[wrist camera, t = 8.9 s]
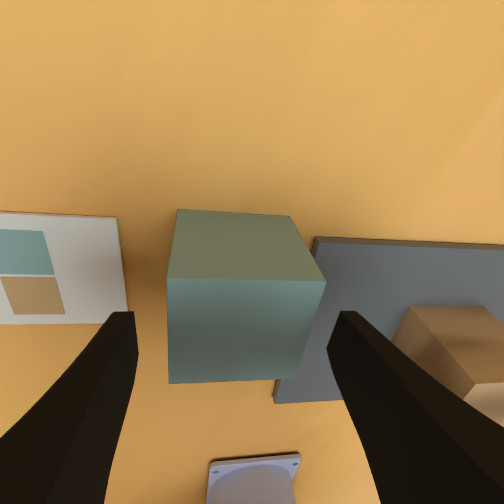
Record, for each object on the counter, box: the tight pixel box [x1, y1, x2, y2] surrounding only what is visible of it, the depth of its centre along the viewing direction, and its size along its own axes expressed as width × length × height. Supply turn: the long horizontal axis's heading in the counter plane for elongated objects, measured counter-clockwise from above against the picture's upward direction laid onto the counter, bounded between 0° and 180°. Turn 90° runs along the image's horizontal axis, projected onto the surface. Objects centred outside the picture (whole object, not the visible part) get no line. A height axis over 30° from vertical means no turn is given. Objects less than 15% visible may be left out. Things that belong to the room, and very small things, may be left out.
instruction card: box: [0, 211, 128, 324], centre depth 13 cm, size 6×8×1 cm
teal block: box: [166, 209, 327, 384], centre depth 13 cm, size 5×5×5 cm
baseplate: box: [273, 237, 504, 404], centre depth 19 cm, size 13×18×1 cm
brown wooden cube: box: [391, 306, 504, 427], centre depth 17 cm, size 5×5×5 cm
